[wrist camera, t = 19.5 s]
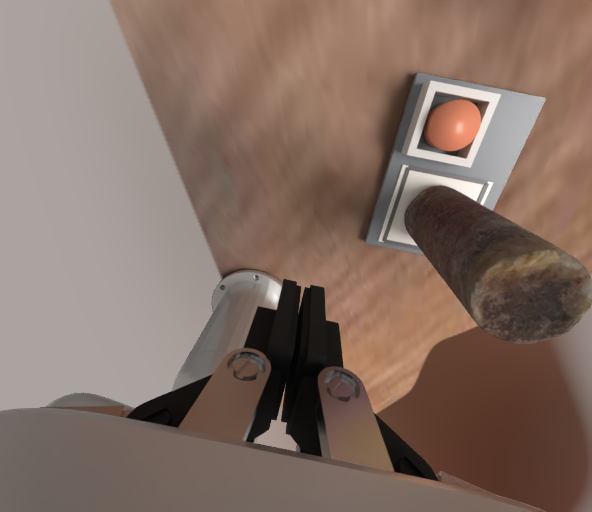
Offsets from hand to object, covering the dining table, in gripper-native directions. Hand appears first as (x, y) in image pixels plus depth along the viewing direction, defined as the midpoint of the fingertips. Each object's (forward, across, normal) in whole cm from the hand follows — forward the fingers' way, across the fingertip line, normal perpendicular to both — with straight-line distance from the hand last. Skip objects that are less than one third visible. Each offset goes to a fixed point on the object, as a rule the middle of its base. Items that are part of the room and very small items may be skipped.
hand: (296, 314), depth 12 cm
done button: (+26, -13, -10) cm, 31 cm away
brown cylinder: (+27, -16, 0) cm, 31 cm away
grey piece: (+28, -16, -5) cm, 33 cm away
